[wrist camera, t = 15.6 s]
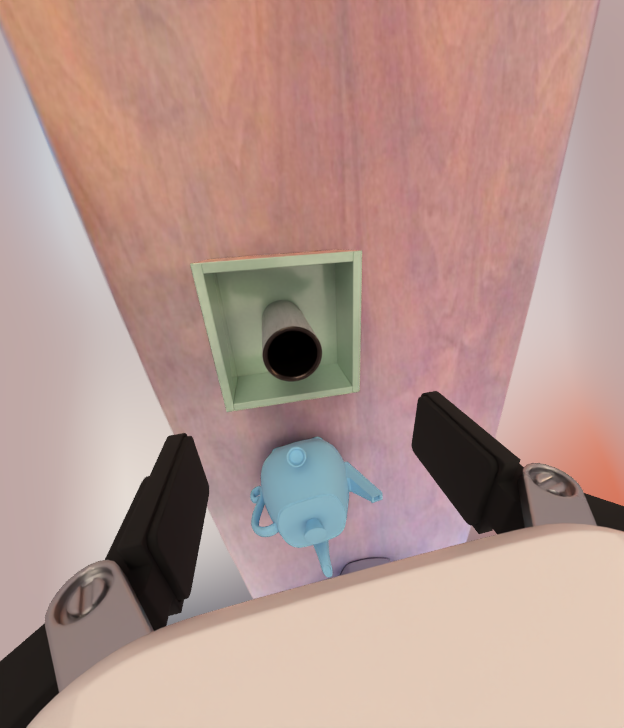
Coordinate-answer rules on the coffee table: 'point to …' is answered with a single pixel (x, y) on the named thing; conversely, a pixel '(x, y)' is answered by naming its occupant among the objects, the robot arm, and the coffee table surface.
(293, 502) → the teapot
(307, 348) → the grey hollow cylinder
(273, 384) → the green open box
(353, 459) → the coffee table surface
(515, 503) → the robot arm
